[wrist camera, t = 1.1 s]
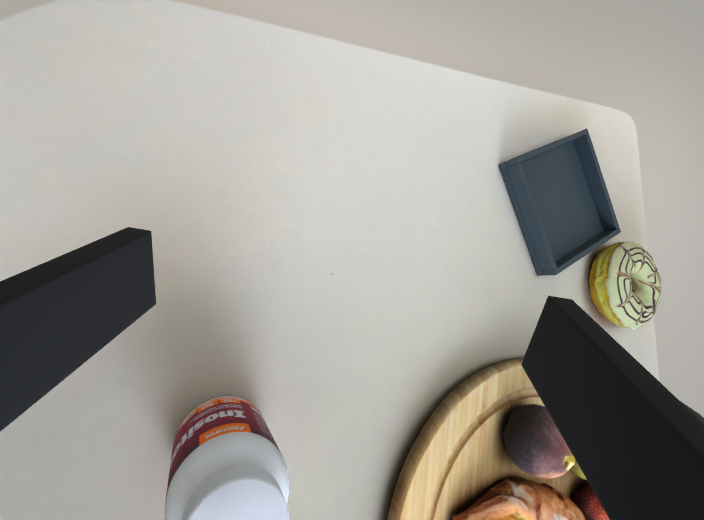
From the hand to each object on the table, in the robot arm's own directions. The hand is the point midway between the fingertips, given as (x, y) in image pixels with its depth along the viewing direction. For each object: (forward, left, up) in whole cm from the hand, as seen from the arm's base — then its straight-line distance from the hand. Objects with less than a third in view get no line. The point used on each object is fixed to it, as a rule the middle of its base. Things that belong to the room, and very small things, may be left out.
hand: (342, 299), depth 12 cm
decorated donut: (+18, +41, -17) cm, 48 cm away
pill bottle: (+9, -6, -17) cm, 20 cm away
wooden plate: (+32, +15, -17) cm, 39 cm away
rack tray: (+5, +36, -17) cm, 40 cm away
